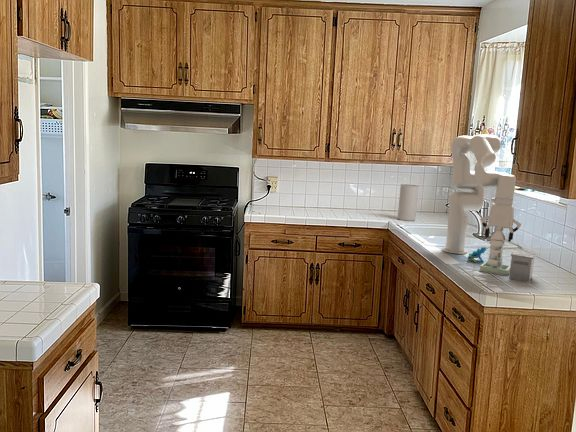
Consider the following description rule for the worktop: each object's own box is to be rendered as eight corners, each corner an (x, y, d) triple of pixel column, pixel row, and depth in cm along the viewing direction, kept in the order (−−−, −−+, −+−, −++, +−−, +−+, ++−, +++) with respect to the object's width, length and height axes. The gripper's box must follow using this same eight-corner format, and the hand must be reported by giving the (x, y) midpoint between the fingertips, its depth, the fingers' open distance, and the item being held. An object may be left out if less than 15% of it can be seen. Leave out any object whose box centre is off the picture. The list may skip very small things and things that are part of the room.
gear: (476, 255, 279) (488, 244, 271) (483, 265, 276) (495, 254, 269) (461, 259, 273) (473, 248, 266) (468, 269, 271) (480, 258, 263)
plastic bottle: (494, 271, 249) (499, 227, 246) (483, 268, 255) (488, 224, 252) (505, 271, 251) (510, 227, 248) (494, 267, 257) (499, 224, 254)
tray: (484, 266, 261) (485, 261, 261) (510, 270, 255) (511, 265, 255) (479, 270, 251) (480, 265, 251) (506, 275, 245) (507, 270, 245)
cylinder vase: (417, 221, 394) (420, 186, 391) (399, 220, 394) (402, 185, 390) (412, 219, 407) (416, 185, 403) (395, 218, 406) (399, 183, 403)
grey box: (511, 273, 249) (514, 250, 248) (532, 277, 245) (536, 253, 243) (507, 278, 240) (510, 254, 238) (529, 282, 236) (532, 257, 234)
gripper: (481, 200, 250) (476, 237, 253) (523, 205, 241) (517, 244, 244) (485, 198, 256) (480, 234, 259) (525, 203, 248) (519, 241, 251)
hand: (498, 239), depth 252 cm, fingers open, 9 cm apart
